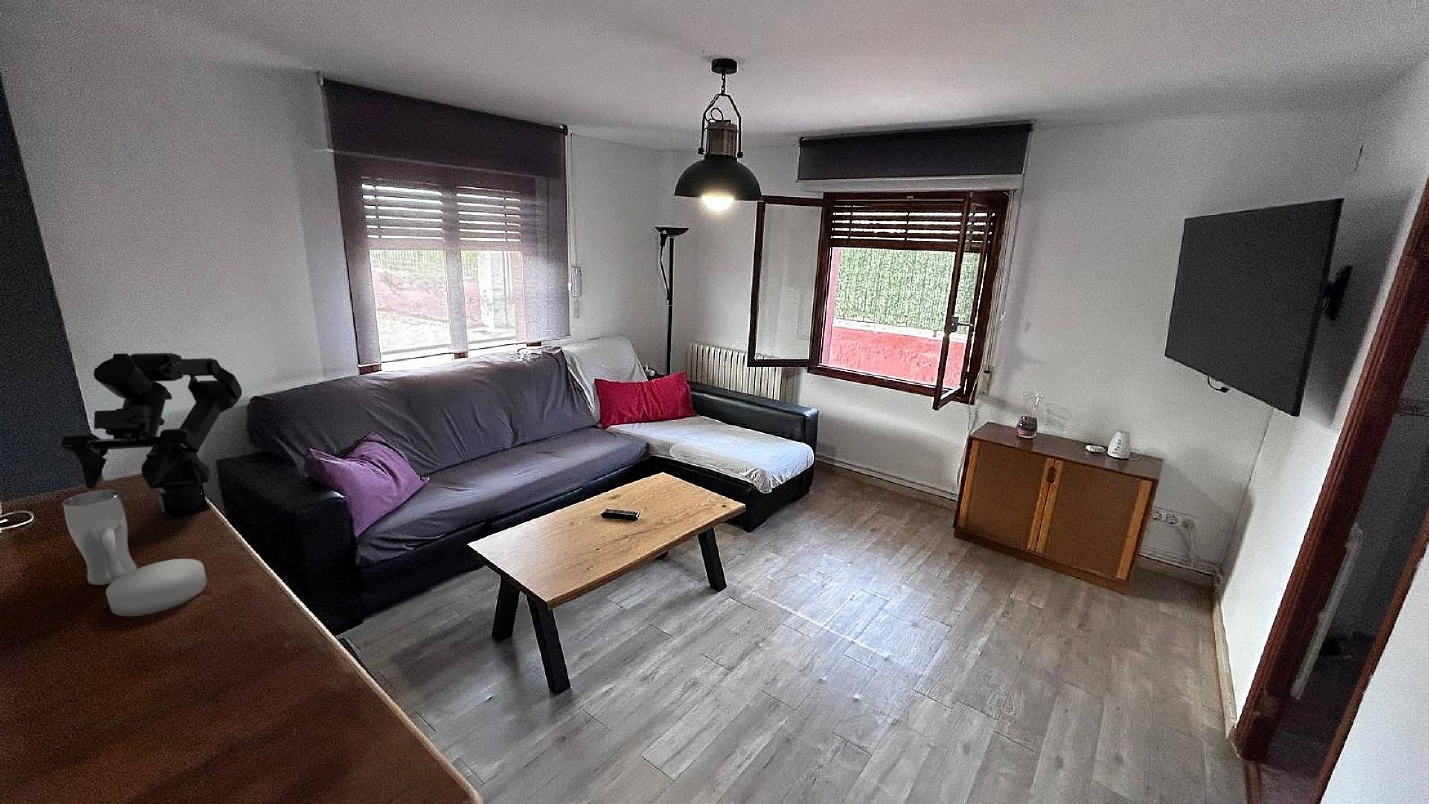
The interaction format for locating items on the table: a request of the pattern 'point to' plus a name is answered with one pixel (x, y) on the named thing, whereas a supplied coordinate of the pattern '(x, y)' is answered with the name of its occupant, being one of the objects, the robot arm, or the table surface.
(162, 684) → the table surface
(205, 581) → the cream stand
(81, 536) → the beer glass
